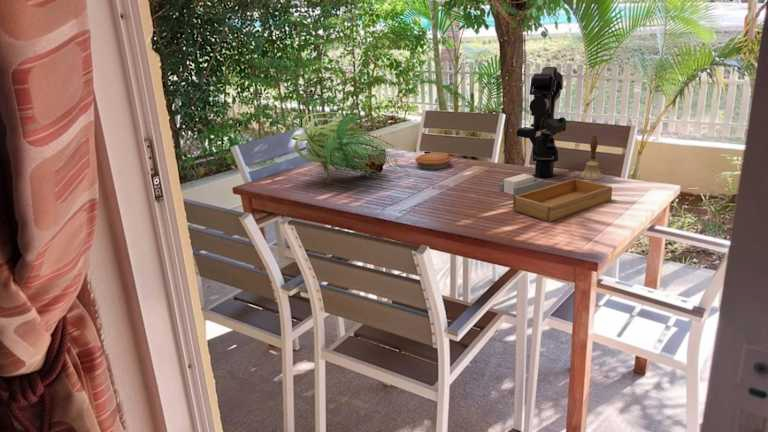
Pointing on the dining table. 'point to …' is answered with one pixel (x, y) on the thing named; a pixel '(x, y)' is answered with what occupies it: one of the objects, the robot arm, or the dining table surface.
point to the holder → (524, 187)
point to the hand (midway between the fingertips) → (540, 153)
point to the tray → (562, 199)
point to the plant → (344, 147)
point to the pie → (433, 161)
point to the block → (517, 182)
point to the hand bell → (592, 163)
